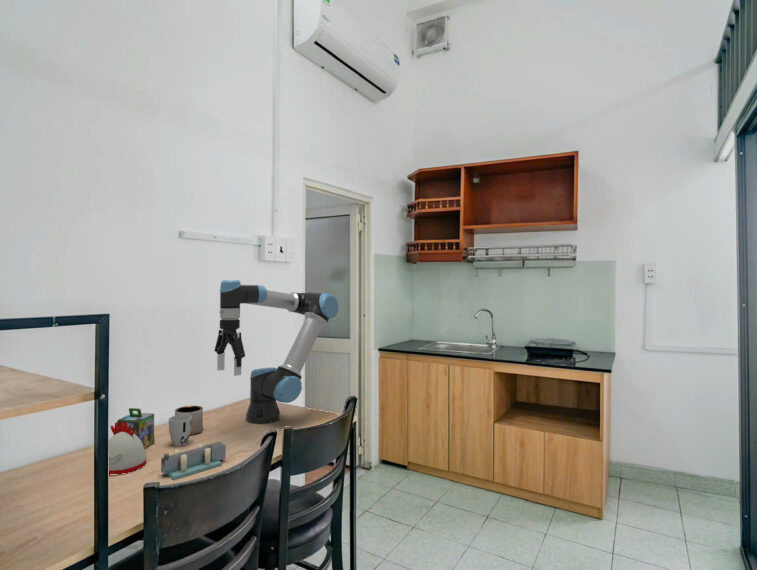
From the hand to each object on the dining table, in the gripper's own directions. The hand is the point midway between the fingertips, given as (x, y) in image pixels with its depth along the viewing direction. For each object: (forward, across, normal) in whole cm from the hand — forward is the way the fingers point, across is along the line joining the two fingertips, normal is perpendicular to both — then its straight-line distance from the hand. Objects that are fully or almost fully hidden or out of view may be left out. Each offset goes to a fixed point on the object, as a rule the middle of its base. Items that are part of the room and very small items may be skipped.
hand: (228, 372), depth 173 cm
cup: (+27, -9, -15) cm, 32 cm away
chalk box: (+27, -17, -28) cm, 42 cm away
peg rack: (+27, +16, -21) cm, 38 cm away
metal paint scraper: (+26, +16, -20) cm, 36 cm away
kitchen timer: (+27, -1, -37) cm, 46 cm away
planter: (+27, -20, -7) cm, 34 cm away
